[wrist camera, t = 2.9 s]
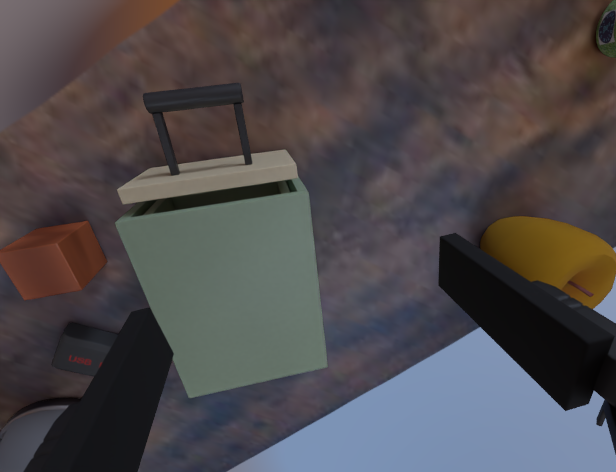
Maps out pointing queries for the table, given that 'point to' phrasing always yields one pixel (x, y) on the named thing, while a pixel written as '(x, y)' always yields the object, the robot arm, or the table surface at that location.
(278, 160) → the drawer
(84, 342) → the usb drive
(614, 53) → the beverage can
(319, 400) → the table surface
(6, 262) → the block
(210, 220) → the cabinet
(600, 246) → the apple
